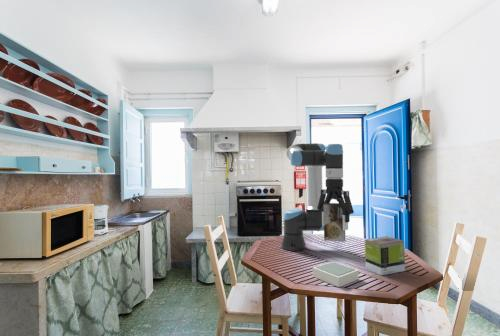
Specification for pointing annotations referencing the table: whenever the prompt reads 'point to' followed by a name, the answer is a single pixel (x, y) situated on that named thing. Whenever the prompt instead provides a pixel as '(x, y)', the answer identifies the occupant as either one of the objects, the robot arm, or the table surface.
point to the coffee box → (333, 222)
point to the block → (335, 273)
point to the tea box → (385, 255)
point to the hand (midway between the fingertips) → (334, 227)
